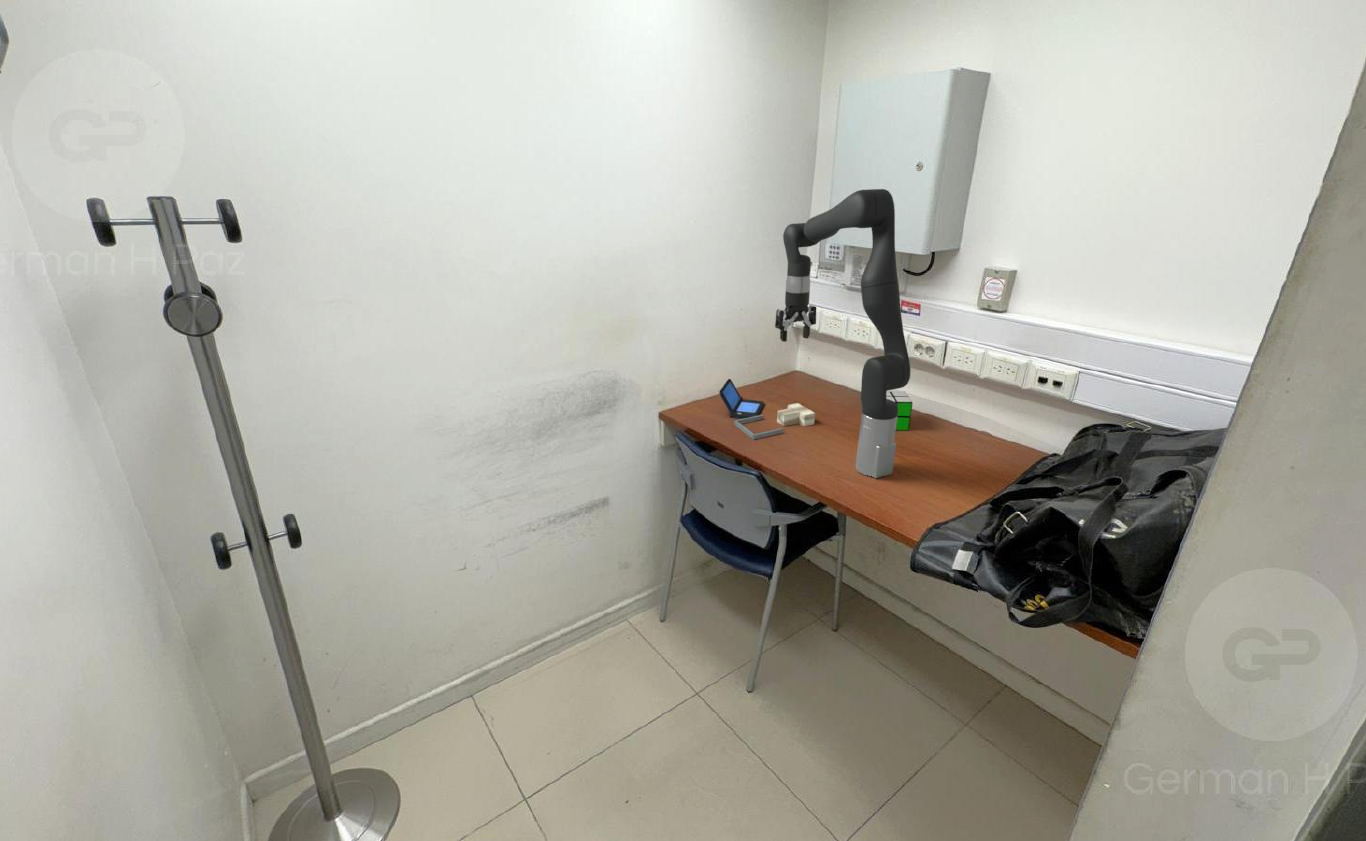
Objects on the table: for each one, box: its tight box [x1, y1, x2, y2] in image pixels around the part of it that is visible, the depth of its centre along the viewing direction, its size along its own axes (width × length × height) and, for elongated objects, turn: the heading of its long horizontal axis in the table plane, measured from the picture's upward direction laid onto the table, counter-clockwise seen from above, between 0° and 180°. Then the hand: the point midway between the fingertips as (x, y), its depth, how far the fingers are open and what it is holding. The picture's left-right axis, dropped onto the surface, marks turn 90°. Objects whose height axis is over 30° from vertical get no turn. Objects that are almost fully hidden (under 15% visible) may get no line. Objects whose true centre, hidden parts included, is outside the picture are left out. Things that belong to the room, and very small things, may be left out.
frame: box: [733, 414, 784, 441], centre depth 190 cm, size 13×11×2 cm
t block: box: [776, 402, 816, 427], centre depth 195 cm, size 10×10×4 cm
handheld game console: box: [718, 378, 765, 419], centre depth 204 cm, size 16×13×9 cm
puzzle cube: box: [886, 390, 913, 432], centre depth 190 cm, size 10×10×10 cm
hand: (794, 339), depth 190 cm, fingers open, 8 cm apart
